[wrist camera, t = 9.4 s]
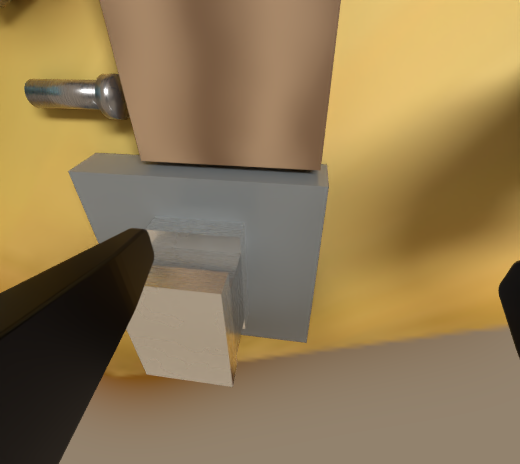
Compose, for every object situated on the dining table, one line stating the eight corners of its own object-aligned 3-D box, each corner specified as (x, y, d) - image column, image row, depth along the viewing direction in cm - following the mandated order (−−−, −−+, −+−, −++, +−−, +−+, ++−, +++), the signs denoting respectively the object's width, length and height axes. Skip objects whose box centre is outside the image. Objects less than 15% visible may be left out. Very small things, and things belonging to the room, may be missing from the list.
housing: (244, 223, 19) (221, 294, 14) (248, 313, 25) (232, 386, 20) (155, 216, 20) (105, 281, 15) (178, 305, 25) (146, 374, 20)
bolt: (126, 70, 18) (103, 78, 16) (136, 113, 19) (116, 125, 17) (36, 69, 18) (4, 76, 16) (53, 110, 20) (25, 121, 18)
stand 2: (326, 164, 19) (328, 186, 17) (307, 314, 28) (306, 342, 26) (95, 152, 21) (68, 171, 19) (146, 296, 30) (131, 321, 28)
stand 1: (349, -98, 12) (354, -113, 11) (319, 156, 19) (320, 170, 17) (102, -85, 14) (74, -96, 12) (154, 148, 20) (141, 160, 19)
